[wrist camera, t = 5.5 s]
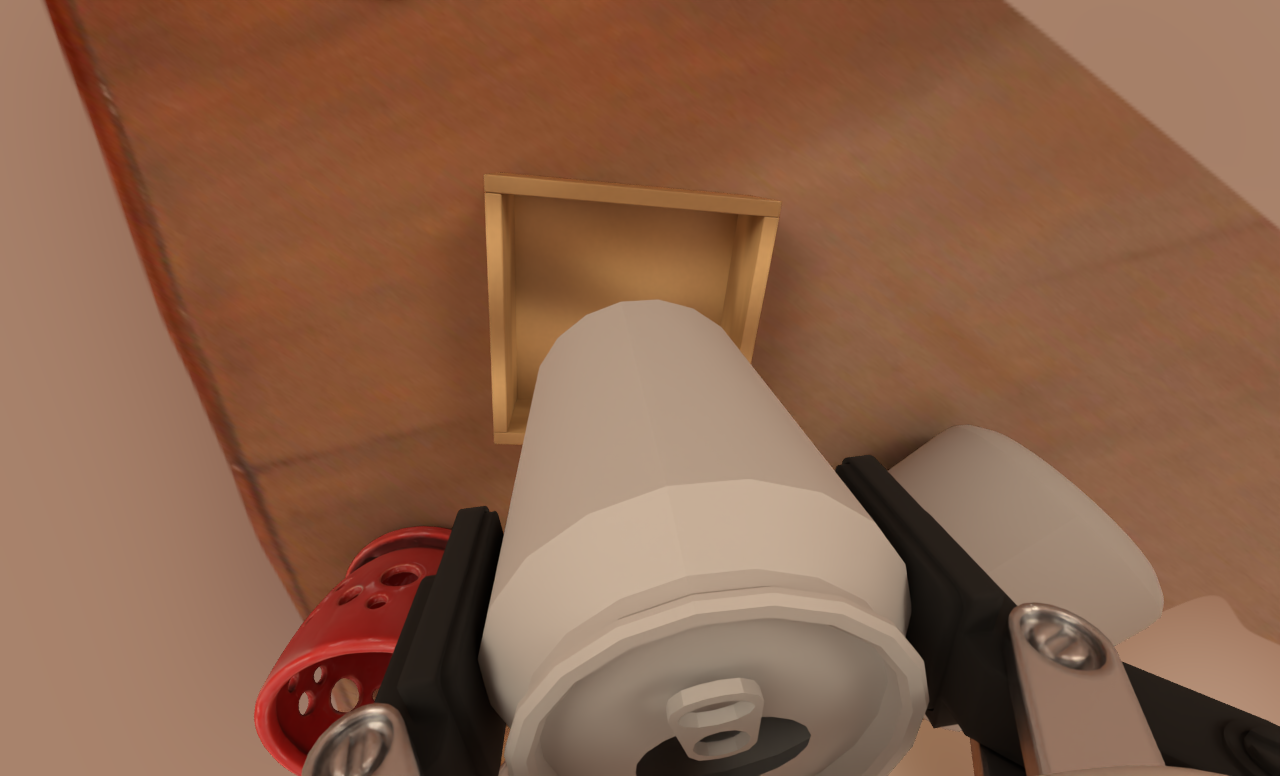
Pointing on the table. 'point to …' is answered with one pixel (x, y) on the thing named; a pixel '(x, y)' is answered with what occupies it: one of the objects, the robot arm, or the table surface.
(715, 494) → the can
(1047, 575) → the jar
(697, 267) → the wooden box
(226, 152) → the table surface
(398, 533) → the flower pot
